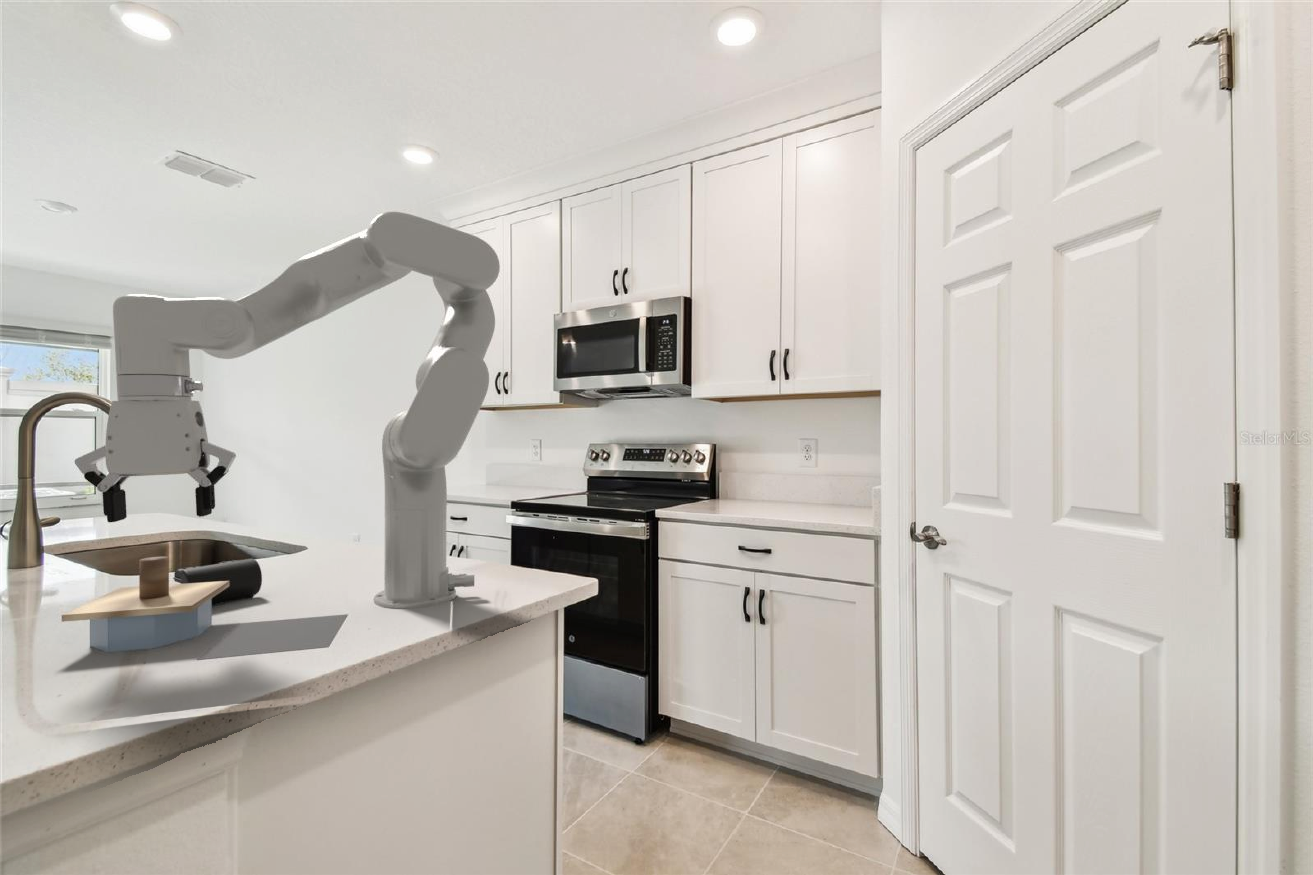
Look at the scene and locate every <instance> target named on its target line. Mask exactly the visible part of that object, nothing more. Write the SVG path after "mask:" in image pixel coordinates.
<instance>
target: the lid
mask: <svg viewBox="0 0 1313 875" xmlns="http://www.w3.org/2000/svg"><path fill="white" fill-rule="evenodd" d="M138 562H139V564H138V566H139V567H138V568H139V572H138V574H139V577H138V578H139V580H138V582H139V586H127V587H119V588H116V589H115V590H112V591H111V592H108V593H106V594H104V595H102V596H99V597H97V598H95V599H93V600H90V601H89V602H87V603H84V604H82V605H80V606H79V607H76V608H74V609H72V610H69V611H67V612H65V613H63V614H61V622H77V621H87V620H89V621H90V620H91V619H104V618H117V617H130V616H143V615H156V614H169V613H182V612H192V611H194V610H195V609H197V608H198V607H200V606H201V605H203V604H204V603H205V602H207V601H208V600H210V599H211V598H213V597H214V596H216V595H217V594H219V593H220V592H222V591H223V590H225V589H226V588H227V587H229V581H218V582H202V583H186V584H181V583H175V584H170V564H169V563H170V558H169V556H152V557H145V558H141V559H139V561H138Z"/></svg>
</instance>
